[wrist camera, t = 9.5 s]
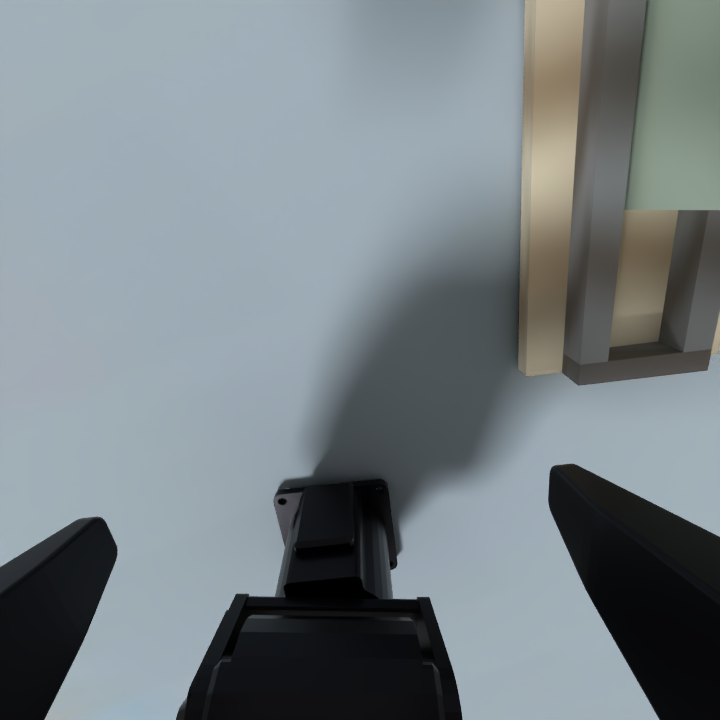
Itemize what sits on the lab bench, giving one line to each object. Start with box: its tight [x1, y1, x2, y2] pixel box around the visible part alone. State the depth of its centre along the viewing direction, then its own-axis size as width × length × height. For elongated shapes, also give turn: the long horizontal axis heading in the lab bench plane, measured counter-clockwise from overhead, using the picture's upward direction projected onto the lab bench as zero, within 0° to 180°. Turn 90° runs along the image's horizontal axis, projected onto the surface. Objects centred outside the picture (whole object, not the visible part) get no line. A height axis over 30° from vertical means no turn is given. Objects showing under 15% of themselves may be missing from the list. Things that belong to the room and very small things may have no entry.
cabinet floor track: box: [518, 0, 720, 386], centre depth 15 cm, size 22×9×2 cm, turn 7°
